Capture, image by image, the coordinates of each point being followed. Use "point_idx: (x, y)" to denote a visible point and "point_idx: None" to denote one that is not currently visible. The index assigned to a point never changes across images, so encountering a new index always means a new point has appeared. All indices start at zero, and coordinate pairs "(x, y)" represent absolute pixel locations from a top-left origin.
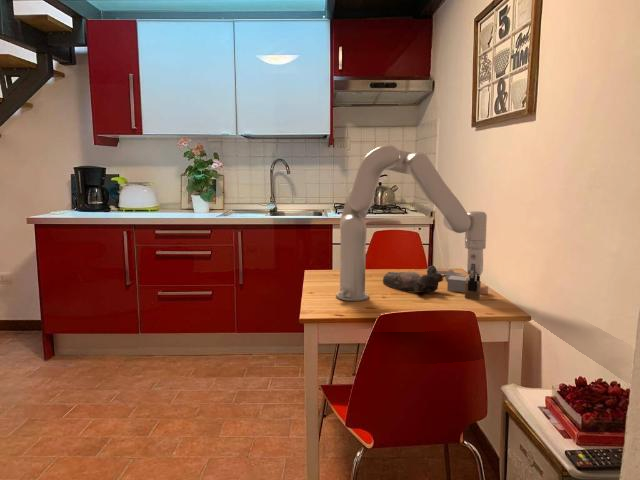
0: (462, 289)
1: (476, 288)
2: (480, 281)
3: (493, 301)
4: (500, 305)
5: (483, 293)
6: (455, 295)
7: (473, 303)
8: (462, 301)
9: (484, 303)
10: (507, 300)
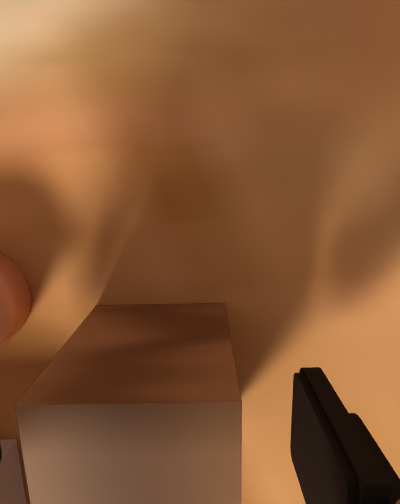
0: (5, 482)
1: (332, 393)
2: (25, 406)
3: (239, 159)
4: (377, 71)
5: (17, 286)
6: None
7: (389, 325)
8: None
9: (353, 234)
10: (128, 13)
